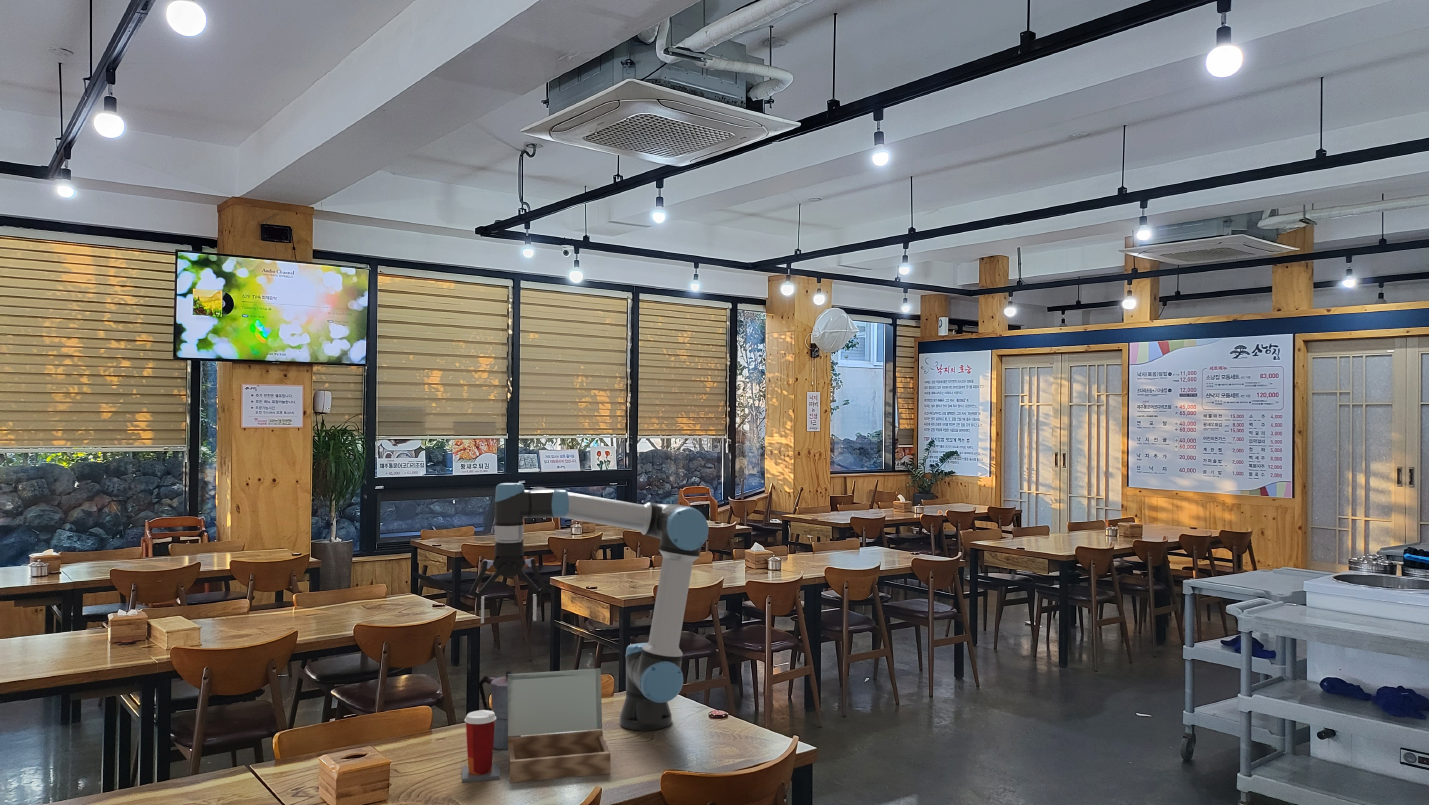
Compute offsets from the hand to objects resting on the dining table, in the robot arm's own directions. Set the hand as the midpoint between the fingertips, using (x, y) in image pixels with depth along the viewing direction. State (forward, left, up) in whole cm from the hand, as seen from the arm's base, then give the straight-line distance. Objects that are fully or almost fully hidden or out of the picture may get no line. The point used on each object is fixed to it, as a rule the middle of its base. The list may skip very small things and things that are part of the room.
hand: (508, 621), depth 246 cm
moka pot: (+1, -7, -35) cm, 36 cm away
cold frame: (-12, +14, -35) cm, 39 cm away
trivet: (+7, +14, -35) cm, 38 cm away
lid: (-12, +5, -21) cm, 25 cm away
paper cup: (+7, +14, -34) cm, 38 cm away
